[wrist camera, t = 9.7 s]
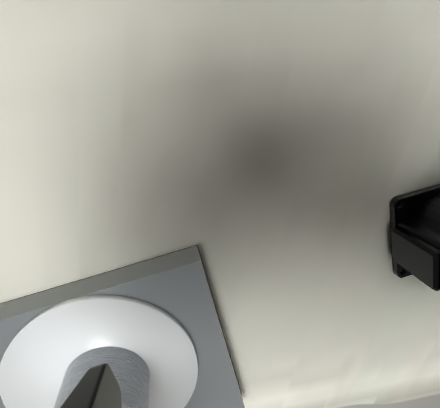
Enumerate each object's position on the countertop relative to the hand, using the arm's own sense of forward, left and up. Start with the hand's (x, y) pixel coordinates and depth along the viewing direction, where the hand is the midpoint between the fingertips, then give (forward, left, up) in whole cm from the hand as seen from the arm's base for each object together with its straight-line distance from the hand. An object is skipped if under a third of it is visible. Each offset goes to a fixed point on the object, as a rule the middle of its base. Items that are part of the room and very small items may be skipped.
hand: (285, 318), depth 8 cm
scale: (+10, +11, -13) cm, 20 cm away
